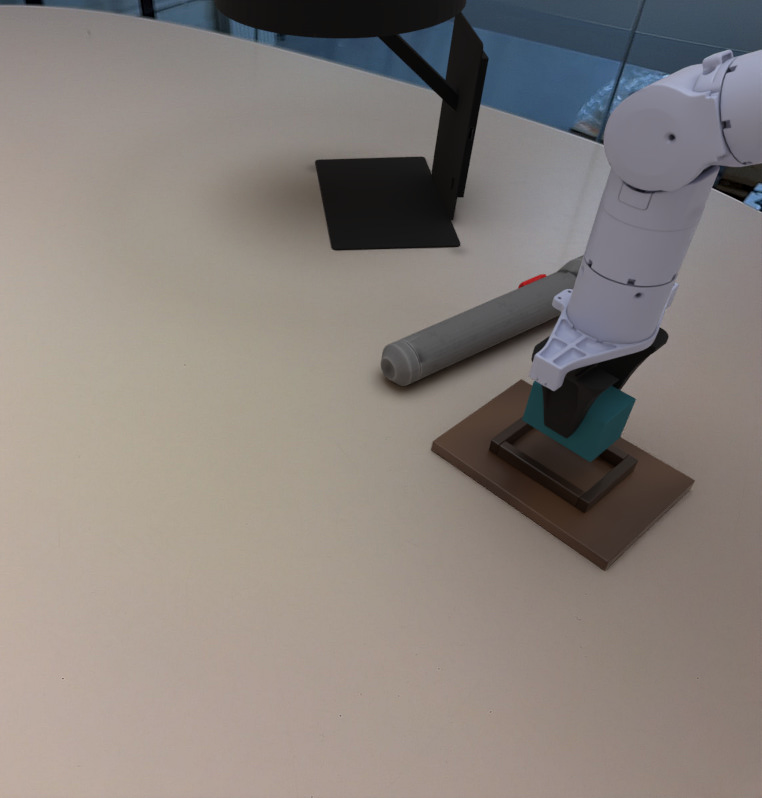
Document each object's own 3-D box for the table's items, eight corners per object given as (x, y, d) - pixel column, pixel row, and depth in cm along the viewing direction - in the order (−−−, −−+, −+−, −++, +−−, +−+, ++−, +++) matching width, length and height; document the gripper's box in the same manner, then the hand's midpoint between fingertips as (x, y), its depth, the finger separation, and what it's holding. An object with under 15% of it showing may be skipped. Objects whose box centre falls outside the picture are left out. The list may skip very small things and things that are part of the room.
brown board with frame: (691, 488, 63) (701, 469, 62) (604, 570, 58) (613, 552, 56) (518, 387, 73) (524, 368, 71) (430, 449, 67) (434, 430, 66)
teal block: (620, 437, 62) (636, 398, 59) (590, 462, 60) (605, 423, 57) (551, 397, 65) (564, 359, 62) (521, 420, 63) (533, 381, 61)
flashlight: (392, 403, 74) (364, 357, 75) (608, 303, 83) (580, 264, 85) (413, 380, 69) (383, 332, 70) (640, 277, 79) (609, 237, 80)
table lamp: (477, 254, 89) (570, -194, 62) (222, 261, 89) (204, -181, 63) (432, 151, 108) (488, -226, 81) (221, 158, 108) (208, -216, 82)
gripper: (634, 203, 58) (583, 351, 67) (509, 278, 51) (472, 431, 60) (732, 241, 54) (664, 394, 63) (610, 328, 47) (554, 485, 56)
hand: (575, 415), depth 61 cm, fingers closed on teal block, 4 cm apart
